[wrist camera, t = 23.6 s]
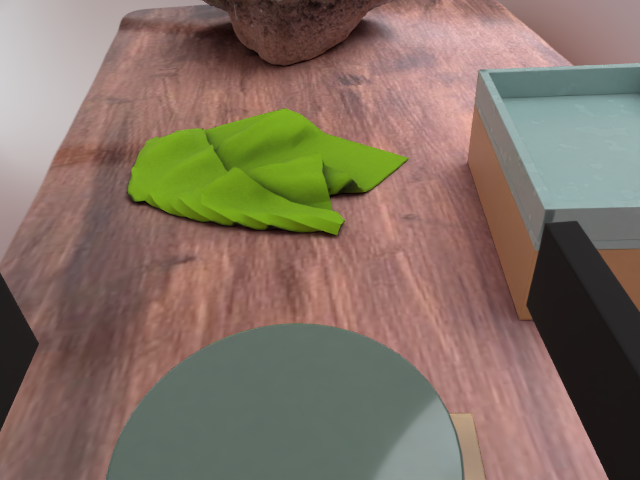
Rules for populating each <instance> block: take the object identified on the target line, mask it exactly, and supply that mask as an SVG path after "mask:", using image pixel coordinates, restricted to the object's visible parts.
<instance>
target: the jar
mask: <svg viewBox="0 0 640 480" xmlns="http://www.w3.org/2000/svg"><path fill="white" fill-rule="evenodd" d="M106 480H465V471H464V461H463V453H462V449H461V445H460V441H459V437H458V433H457V431H456V428H455V426H454V423H453V421H452V418H451V416H450V414H449V412H448V410H447V408H446V407H445V405H444V403H443V401H442V399H441V398H440V396H439V395H438V393H437V392H436V391H435V389H434V388H433V387H432V385H431V384H430V383H429V381H428V380H427V379H426V378H425V377H424V376H423V375H422V374H421V373H420V372H419V371H418V370H417V369H416V368H415V367H414V366H413V365H412V364H411V363H409V362H408V361H407V360H406V359H404V358H403V357H402V356H401V355H399V354H398V353H396V352H395V351H393V350H392V349H390V348H388V347H387V346H385V345H383V344H381V343H379V342H377V341H375V340H373V339H371V338H369V337H367V336H364V335H361V334H358V333H355V332H353V331H349V330H345V329H341V328H337V327H333V326H326V325H319V324H303V323H292V324H277V325H270V326H264V327H258V328H254V329H250V330H246V331H242V332H239V333H236V334H234V335H231V336H228V337H225V338H223V339H220V340H218V341H216V342H214V343H212V344H210V345H208V346H206V347H204V348H202V349H200V350H199V351H197V352H195V353H194V354H192V355H190V356H189V357H187V358H186V359H185V360H183V361H182V362H180V363H179V364H178V365H176V366H175V367H174V368H172V369H171V370H170V371H169V372H168V373H167V374H166V375H164V376H163V377H162V378H161V379H160V380H159V381H158V382H157V383H156V384H155V385H154V386H153V387H152V388H151V390H150V391H149V392H148V393H147V394H146V395H145V396H144V397H143V399H142V400H141V401H140V403H139V404H138V406H137V407H136V408H135V410H134V411H133V412H132V414H131V416H130V417H129V419H128V421H127V423H126V424H125V426H124V428H123V430H122V431H121V434H120V436H119V438H118V441H117V443H116V445H115V448H114V450H113V453H112V456H111V460H110V463H109V467H108V471H107V474H106Z"/></svg>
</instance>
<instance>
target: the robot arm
mask: <svg viewBox="0 0 640 480" xmlns="http://www.w3.org/2000/svg"><path fill="white" fill-rule="evenodd" d="M526 306H527V308H528V310H529V313H530V315H531V317H532V319H533V321H534V323H535V325H536V327H537V329H538V331H539V334H540V336H541V338H542V340H543V342H544V344H545V346H546V348H547V350H548V353H549V355H550V357H551V359H552V361H553V363H554V365H555V367H556V369H557V371H558V374H559V376H560V378H561V380H562V382H563V384H564V386H565V388H566V390H567V393H568V395H569V397H570V399H571V401H572V403H573V405H574V407H575V409H576V411H577V414H578V416H579V418H580V420H581V422H582V424H583V426H584V428H585V430H586V432H587V435H588V437H589V439H590V441H591V443H592V445H593V447H594V449H595V451H596V454H597V456H598V458H599V460H600V462H601V464H602V466H603V468H604V470H605V472H606V475H607V477H608V479H609V480H640V312H639V310H638V309H637V307H636V306H635V304H634V303H633V301H632V300H631V298H630V297H629V296H628V294H627V293H626V291H625V290H624V288H623V287H622V285H621V284H620V282H619V281H618V280H617V278H616V277H615V275H614V274H613V272H612V271H611V269H610V268H609V266H608V265H607V264H606V262H605V261H604V259H603V258H602V256H601V255H600V253H599V252H598V250H597V249H596V248H595V246H594V245H593V243H592V242H591V240H590V239H589V237H588V236H587V234H586V233H585V232H584V230H583V229H582V227H581V226H580V224H579V223H578V221H566V222H554V223H545V226H544V230H543V234H542V239H541V243H540V247H539V252H538V256H537V260H536V265H535V269H534V273H533V277H532V282H531V286H530V290H529V295H528V299H527V303H526ZM38 345H39V343H38V341H37V339H36V338H35V336H34V334H33V332H32V330H31V328H30V327H29V325H28V323H27V321H26V319H25V317H24V316H23V314H22V312H21V310H20V308H19V306H18V305H17V303H16V301H15V299H14V297H13V295H12V294H11V292H10V290H9V288H8V286H7V284H6V283H5V281H4V279H3V277H2V275H1V273H0V431H1V428H2V426H3V424H4V422H5V419H6V417H7V415H8V413H9V410H10V408H11V406H12V403H13V401H14V399H15V397H16V394H17V392H18V390H19V388H20V385H21V383H22V381H23V379H24V376H25V374H26V372H27V370H28V367H29V365H30V363H31V361H32V358H33V356H34V354H35V351H36V349H37V347H38Z"/></svg>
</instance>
